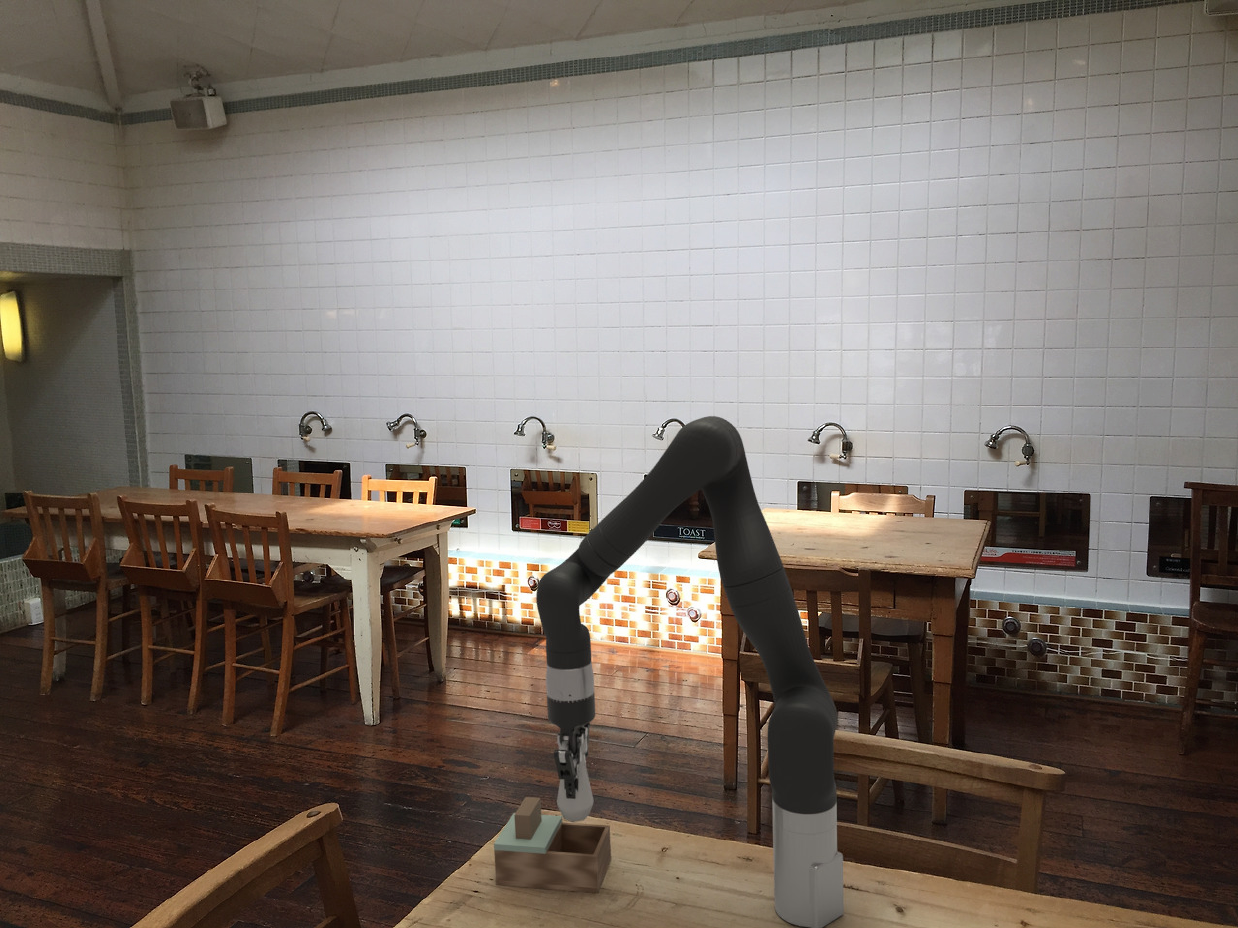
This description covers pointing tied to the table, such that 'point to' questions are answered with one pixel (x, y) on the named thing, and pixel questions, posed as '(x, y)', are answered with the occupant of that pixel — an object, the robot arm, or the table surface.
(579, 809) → the salt shaker
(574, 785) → the robot arm
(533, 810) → the lid
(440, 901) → the table surface
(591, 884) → the box
